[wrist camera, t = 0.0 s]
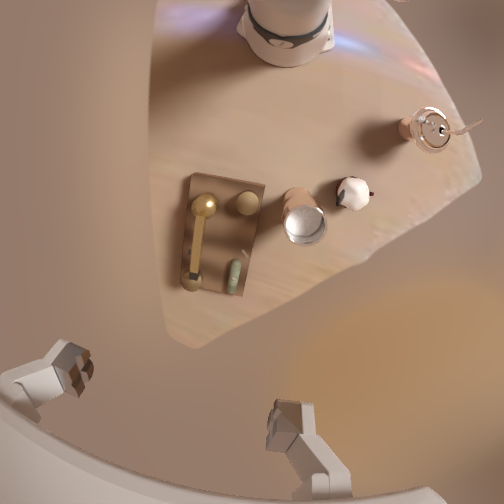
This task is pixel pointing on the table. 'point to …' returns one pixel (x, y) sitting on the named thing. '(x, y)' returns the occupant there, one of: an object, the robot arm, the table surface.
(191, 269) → the lever handle
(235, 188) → the levelling base
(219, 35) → the table surface
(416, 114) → the cup with straw
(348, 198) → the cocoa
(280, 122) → the table surface
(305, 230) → the beer glass
